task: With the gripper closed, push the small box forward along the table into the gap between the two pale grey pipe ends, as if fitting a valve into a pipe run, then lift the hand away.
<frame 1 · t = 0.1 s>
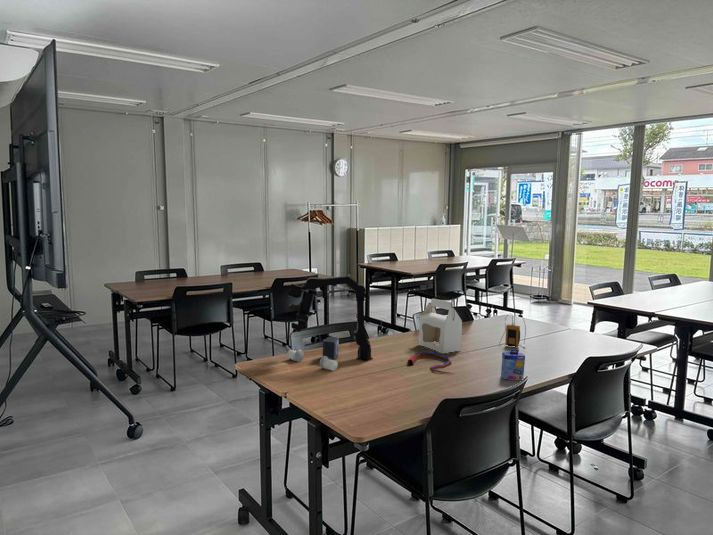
hand: (299, 329, 270), 15 cm above the table, tool pointing down, fingers open, 9 cm apart
multimeter: (513, 346, 307), on the table
ink cartridge box: (512, 379, 246), on the table
small box: (330, 358, 273), on the table
toy snake: (436, 366, 265), on the table
gable box: (439, 348, 299), on the table
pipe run: (311, 364, 261), on the table
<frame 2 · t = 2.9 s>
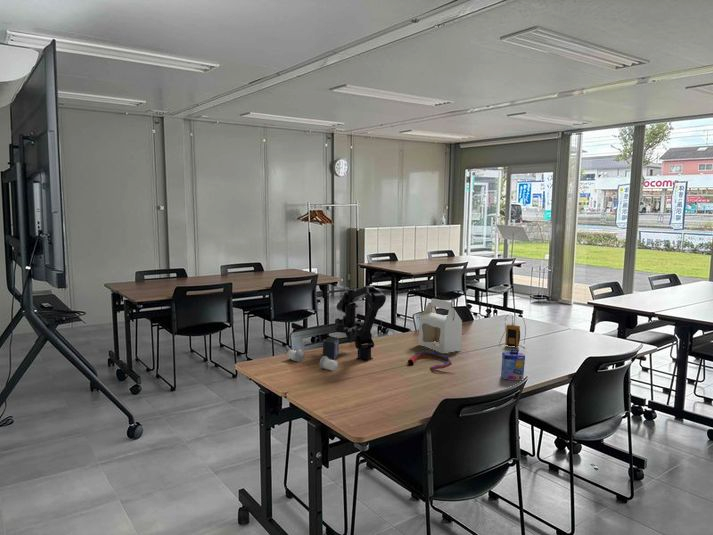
hand: (349, 342, 285), 6 cm above the table, tool pointing down, fingers closed
nothing on the table moved.
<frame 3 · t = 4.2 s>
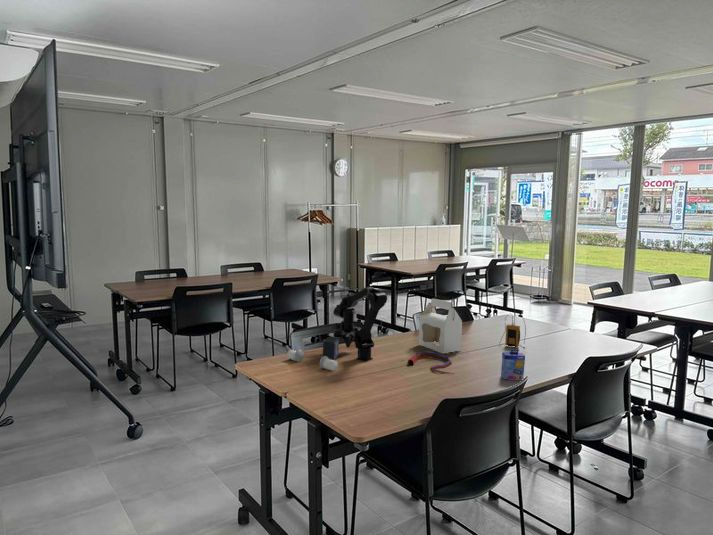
hand: (347, 347, 284), 3 cm above the table, tool pointing down, fingers closed
nothing on the table moved.
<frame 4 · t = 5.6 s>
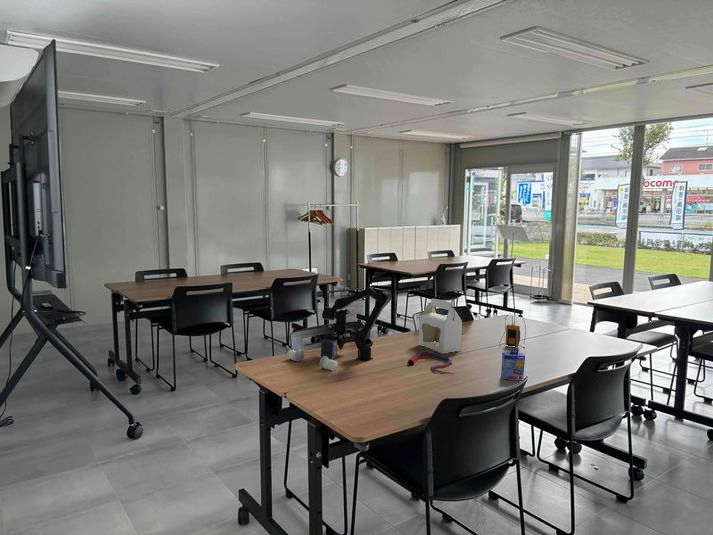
hand: (340, 349, 279), 3 cm above the table, tool pointing down, fingers closed
small box: (329, 359, 272), on the table, touching gripper
everything else where it was.
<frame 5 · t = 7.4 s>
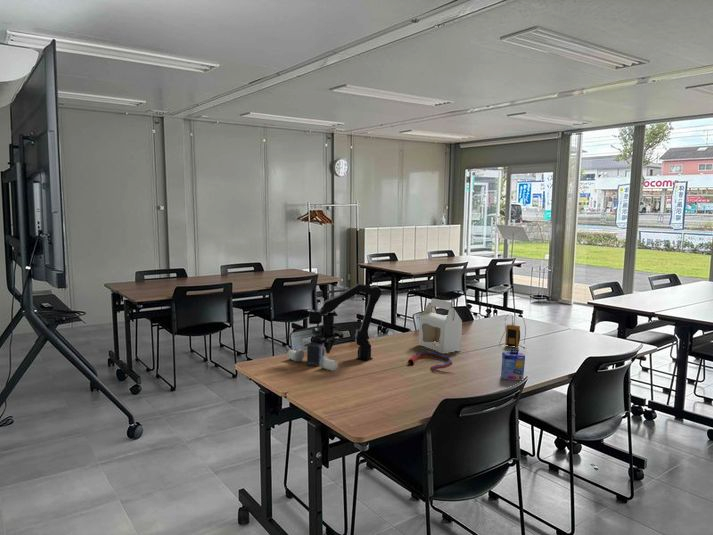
hand: (327, 353, 271), 3 cm above the table, tool pointing down, fingers closed
small box: (315, 363, 264), on the table, touching gripper
everything else where it was.
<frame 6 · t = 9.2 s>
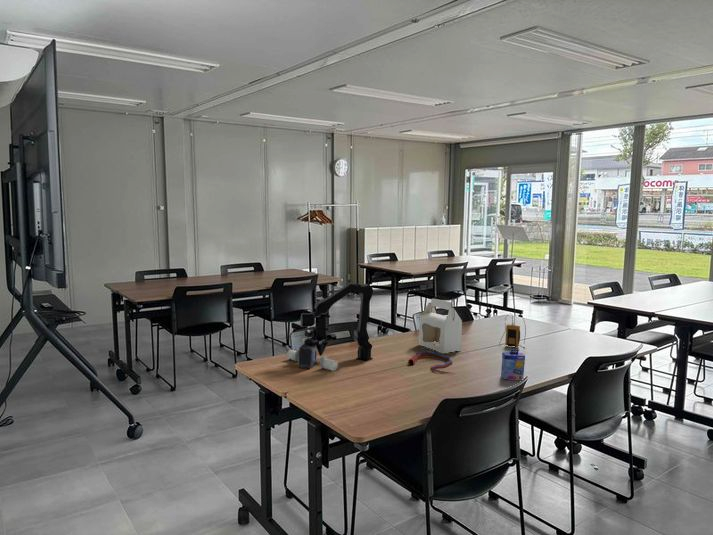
hand: (320, 355, 266), 3 cm above the table, tool pointing down, fingers closed
small box: (307, 366, 259), on the table, touching gripper
everything else where it was.
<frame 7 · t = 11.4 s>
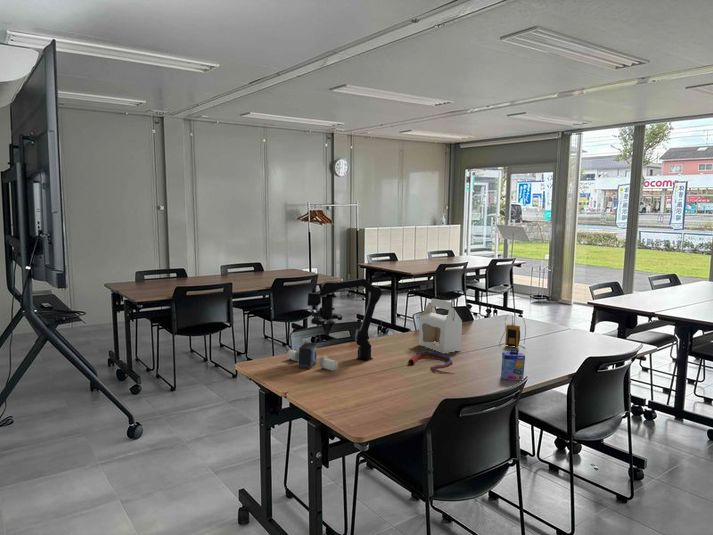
hand: (326, 335, 269), 13 cm above the table, tool pointing down, fingers closed
small box: (307, 366, 259), on the table
everything else where it was.
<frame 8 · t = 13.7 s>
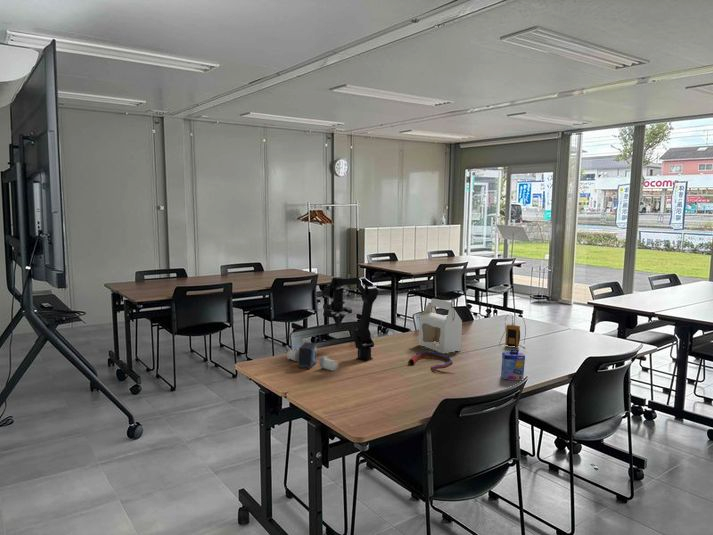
hand: (337, 327, 288), 13 cm above the table, tool pointing down, fingers closed
nothing on the table moved.
at the end: small box inside the target area on the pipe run (2.5 cm from its centre), point 0.0 cm above the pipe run's base; small box tilted 0°; small box moved 17.5 cm from its start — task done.
